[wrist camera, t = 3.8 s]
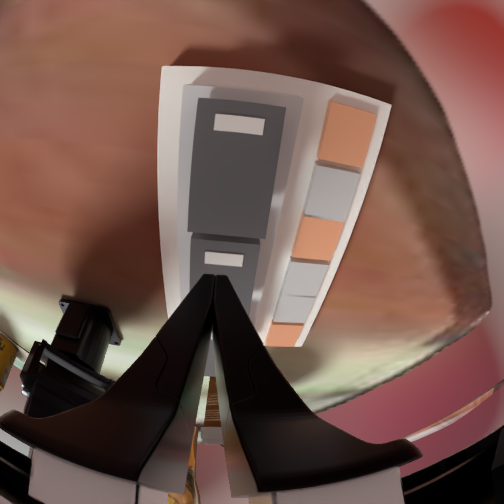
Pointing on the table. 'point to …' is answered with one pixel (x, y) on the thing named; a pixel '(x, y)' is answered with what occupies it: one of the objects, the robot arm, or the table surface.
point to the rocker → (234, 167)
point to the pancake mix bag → (189, 479)
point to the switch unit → (285, 187)
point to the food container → (212, 417)
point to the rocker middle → (226, 261)
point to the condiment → (8, 357)
